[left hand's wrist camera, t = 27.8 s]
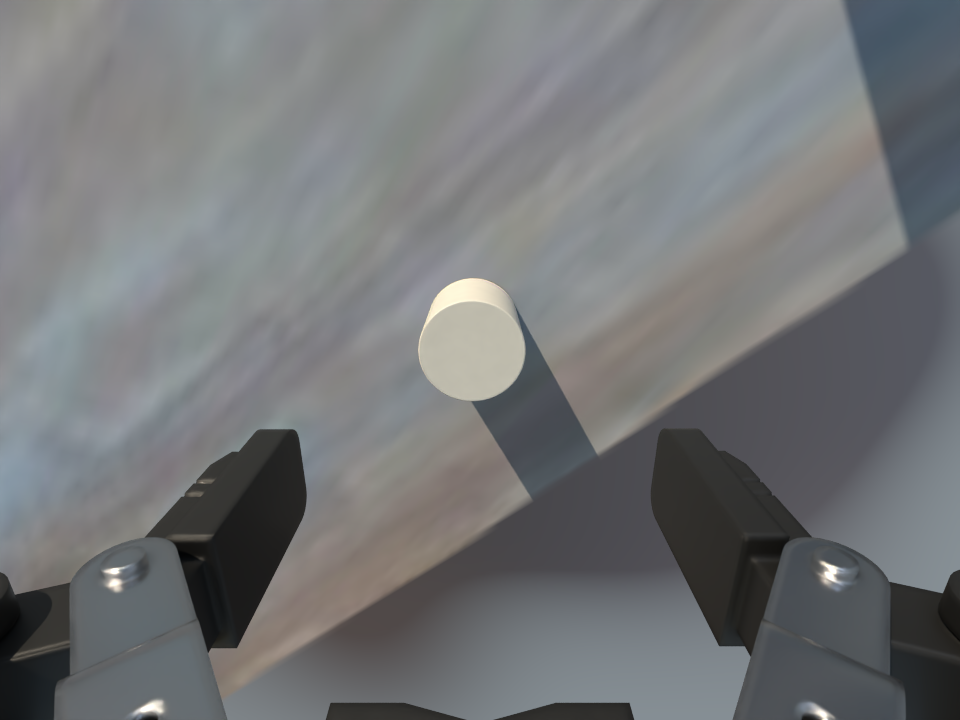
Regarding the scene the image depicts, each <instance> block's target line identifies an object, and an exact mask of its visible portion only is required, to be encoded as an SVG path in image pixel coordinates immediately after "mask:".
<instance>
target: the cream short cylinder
mask: <svg viewBox="0 0 960 720" xmlns="http://www.w3.org/2000/svg"><path fill="white" fill-rule="evenodd" d="M418 351H419V360H420V364H421V367H422V370H423V372H424V374H425V376H426V377H427V378H428V380H429V381H430V382H431V383H432V385H433V386H434V387H436V388H437V389H438V390H439V391H441V392H442V393H444V394H446V395H448V396H450V397H452V398H455V399H458V400H463V401H481V400H486V399H490V398H492V397H495V396H497V395H499V394H501V393H502V392H504V391H505V390H507V389H508V388H509V387H510V386H511V385H512V384H513V383H514V382H515V380H516V379H517V378H518V376H519V374H520V373H521V370H522V368H523V365H524V362H525V356H526V346H525V340H524V336H523V333H522V329H521V325H520V322H519V318H518V315H517V311H516V308H515V305H514V303H513V301H512V300H511V298H510V297H509V295H508V294H507V293H506V292H505V291H504V290H503V289H502V288H500V287H499V286H498V285H496V284H494V283H492V282H489V281H487V280H483V279H475V278H474V279H463V280H460V281H456V282H454V283H452V284H450V285H449V286H447V287H446V288H444V289H443V290H442V291H441V292H440V293H439V294H438V295H437V297H436V298H435V300H434V301H433V303H432V306H431V308H430V311H429V314H428V317H427V319H426V322H425V325H424V328H423V331H422V334H421V336H420V341H419V349H418Z"/></svg>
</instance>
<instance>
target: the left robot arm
mask: <svg viewBox="0 0 960 720" xmlns="http://www.w3.org/2000/svg"><path fill="white" fill-rule="evenodd" d="M196 481H197V482H196V484H193V485H192V486H191V487H190V488H189V489H188V490H187V491H186V493H185V496H184V497H181V498H180V499H179V500H178V501H177V502H176V504H175V505H174V506H173V507H172V508H171V509H170V510H169V511H168V512H167V513H166V515H165V516H164V517H163V518H162V519H161V520H160V521H159V522H158V523H157V524H156V526H155V527H154V528H153V529H152V530H151V531H150V532H149V533H148V534H147V536H146V537H145V538H139V539H135V540H131V541H127V542H124V543H121V544H119V545H116V546H113V547H111V548H109V549H107V550H105V551H103V552H102V553H100V554H98V555H96V556H95V557H94V558H92V559H91V560H89V561H88V562H87V563H86V564H84V565H83V566H82V567H81V568H80V569H79V570H78V571H77V573H76V574H75V576H74V577H73V579H72V581H71V583H67V584H62V585H58V586H53V587H49V588H44V589H39V590H35V591H30V592H26V593H21V594H16V595H15V594H14V592H13V589H12V587H11V585H10V582H9V580H8V577H7V576H6V575H5V574H3V573H1V572H0V720H227V717H226V713H225V710H224V706H223V703H222V700H221V696H220V693H219V689H218V686H217V682H216V679H215V676H214V672H213V669H212V665H211V662H210V658H209V655H208V653H209V651H210V649H211V648H237V647H238V645H239V643H240V641H241V639H242V637H243V635H244V633H245V631H246V629H247V627H248V625H249V623H250V621H251V619H252V617H253V615H254V613H255V611H256V609H257V607H258V605H259V603H260V601H261V599H262V597H263V595H264V594H265V592H266V590H267V588H268V586H269V584H270V582H271V580H272V578H273V576H274V574H275V572H276V570H277V568H278V566H279V564H280V562H281V560H282V558H283V556H284V554H285V552H286V550H287V548H288V546H289V544H290V542H291V540H292V538H293V536H294V534H295V532H296V530H297V528H298V526H299V524H300V522H301V521H302V518H303V516H304V512H305V507H306V497H307V494H306V484H305V477H304V470H303V463H302V456H301V449H300V442H299V437H298V434H297V432H296V431H295V430H293V429H260V430H257V431H256V432H255V433H254V434H253V436H252V437H251V438H250V439H249V440H248V442H247V443H246V444H245V445H244V446H243V447H242V449H241V450H240V451H239V452H231V453H229V454H228V455H226V456H224V457H223V458H221V459H220V460H218V461H216V462H215V463H213V464H211V465H210V466H209V467H208V468H207V469H206V471H205V472H204V473H203V474H202V475H201V476H200V477H199V478H198V479H197V480H196ZM651 504H652V510H653V513H654V516H655V519H656V521H657V523H658V525H659V527H660V529H661V531H662V533H663V535H664V537H665V539H666V541H667V543H668V545H669V547H670V549H671V551H672V553H673V555H674V557H675V559H676V561H677V563H678V565H679V567H680V569H681V571H682V573H683V575H684V577H685V579H686V581H687V583H688V585H689V587H690V589H691V591H692V593H693V595H694V597H695V599H696V601H697V603H698V605H699V607H700V609H701V611H702V613H703V615H704V617H705V619H706V621H707V623H708V625H709V627H710V629H711V631H712V633H713V635H714V637H715V639H716V641H717V643H718V645H719V646H745V647H746V649H747V651H748V653H749V655H750V656H751V658H750V662H749V665H748V669H747V672H746V676H745V679H744V682H743V686H742V690H741V693H740V696H739V700H738V703H737V707H736V710H735V713H734V717H733V720H960V570H958V571H955V572H953V573H952V574H951V575H950V578H949V580H948V583H947V585H946V587H945V590H944V592H943V593H938V592H933V591H929V590H924V589H919V588H915V587H910V586H906V585H901V584H897V583H892V582H889V581H888V579H887V577H886V576H885V574H884V573H883V572H882V570H881V569H880V568H879V567H878V566H877V565H876V564H874V563H873V562H872V561H871V560H869V559H868V558H866V557H865V556H864V555H862V554H860V553H858V552H857V551H855V550H853V549H851V548H849V547H847V546H844V545H841V544H839V543H836V542H833V541H829V540H825V539H820V538H813V537H811V536H810V534H809V533H808V532H807V531H806V530H805V529H804V528H803V527H802V526H801V524H800V523H799V522H798V521H797V520H796V519H795V518H794V517H793V516H792V514H791V513H790V512H789V511H788V510H787V509H786V508H785V507H784V506H783V504H782V503H781V502H780V501H779V500H778V499H777V498H776V497H775V496H772V494H771V491H770V490H769V489H768V488H767V487H766V486H765V484H764V483H762V482H760V479H759V478H758V477H757V476H756V474H755V473H754V472H753V471H752V470H751V469H750V468H749V467H748V466H747V464H745V463H744V462H742V461H740V460H739V459H737V458H735V457H734V456H732V455H731V454H729V453H727V452H726V451H718V450H717V449H716V448H715V447H714V446H713V444H712V443H711V442H710V441H709V440H708V438H707V437H706V436H705V435H704V434H703V433H702V431H701V430H699V429H662V430H661V432H660V434H659V437H658V443H657V450H656V457H655V465H654V472H653V479H652V486H651ZM326 720H465V719H461V718H457V717H454V716H450V715H446V714H443V713H439V712H435V711H432V710H428V709H424V708H421V707H417V706H414V705H410V704H406V703H331V704H330V707H329V710H328V714H327V718H326ZM495 720H634V718H633V714H632V710H631V707H630V703H554V704H550V705H546V706H543V707H539V708H536V709H532V710H528V711H525V712H521V713H517V714H514V715H510V716H506V717H503V718H499V719H495Z"/></svg>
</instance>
